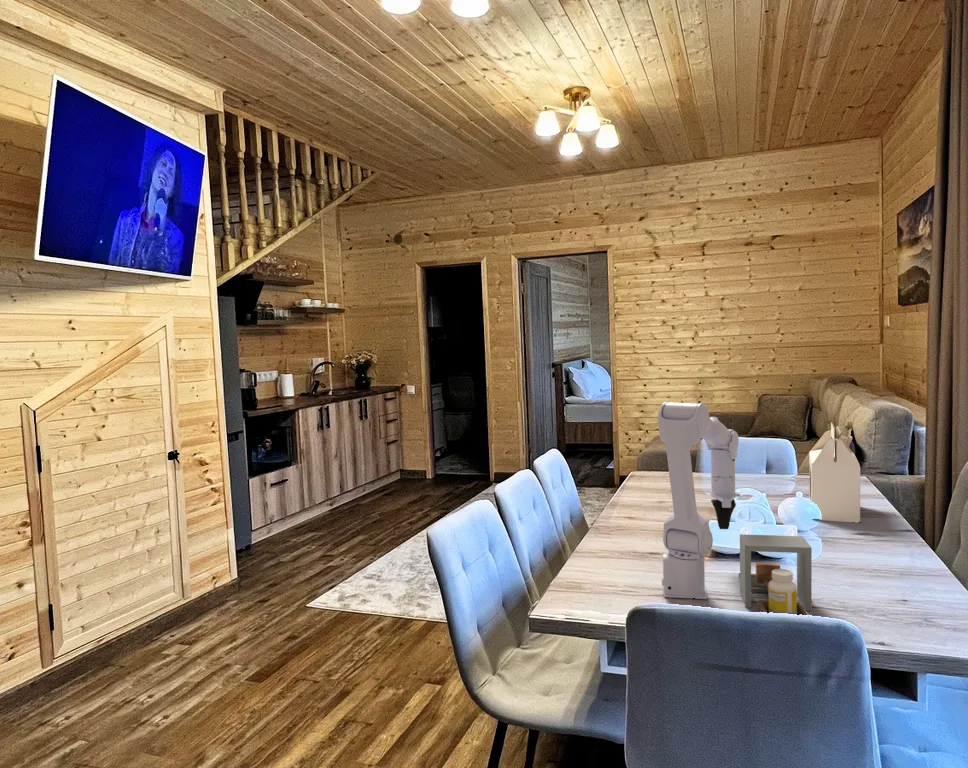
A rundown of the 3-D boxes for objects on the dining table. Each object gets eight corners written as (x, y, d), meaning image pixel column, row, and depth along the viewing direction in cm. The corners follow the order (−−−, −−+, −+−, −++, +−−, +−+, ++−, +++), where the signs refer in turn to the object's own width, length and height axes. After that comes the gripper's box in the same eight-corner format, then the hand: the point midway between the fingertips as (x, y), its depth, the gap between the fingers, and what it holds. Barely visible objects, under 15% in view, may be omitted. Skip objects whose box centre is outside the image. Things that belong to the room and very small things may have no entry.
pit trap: (744, 591, 156) (744, 588, 156) (738, 576, 166) (738, 573, 166) (796, 594, 154) (796, 590, 154) (787, 578, 163) (787, 575, 163)
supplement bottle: (788, 611, 145) (788, 566, 144) (802, 622, 139) (802, 575, 139) (763, 613, 144) (763, 568, 144) (776, 624, 139) (776, 577, 138)
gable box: (860, 523, 205) (860, 431, 202) (811, 520, 210) (811, 429, 208) (853, 505, 225) (854, 420, 223) (809, 502, 230) (809, 420, 228)
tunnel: (745, 607, 148) (744, 545, 147) (740, 593, 155) (739, 534, 154) (811, 610, 145) (811, 547, 144) (802, 596, 152) (802, 536, 151)
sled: (765, 625, 138) (765, 599, 138) (748, 584, 159) (748, 562, 159) (809, 627, 136) (809, 601, 136) (786, 586, 158) (786, 563, 157)
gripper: (744, 482, 164) (744, 537, 166) (735, 469, 179) (736, 520, 180) (713, 481, 166) (713, 536, 167) (707, 469, 180) (708, 520, 181)
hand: (723, 528), depth 173 cm, fingers closed
